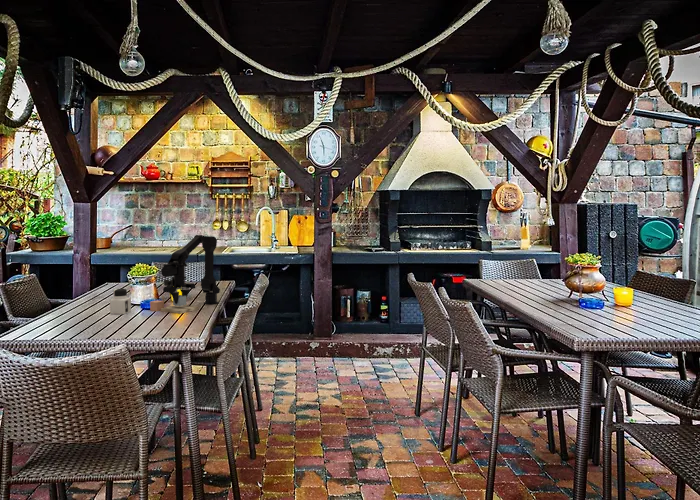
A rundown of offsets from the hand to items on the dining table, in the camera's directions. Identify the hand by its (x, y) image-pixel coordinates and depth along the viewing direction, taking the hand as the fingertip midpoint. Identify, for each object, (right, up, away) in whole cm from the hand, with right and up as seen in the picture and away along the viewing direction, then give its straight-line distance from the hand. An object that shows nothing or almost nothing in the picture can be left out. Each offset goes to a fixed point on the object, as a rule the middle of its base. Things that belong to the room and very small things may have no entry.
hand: (179, 303), depth 300 cm
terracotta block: (-13, -4, 0) cm, 13 cm away
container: (-29, -5, -8) cm, 31 cm away
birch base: (0, -4, 0) cm, 4 cm away
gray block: (0, -1, 0) cm, 1 cm away
